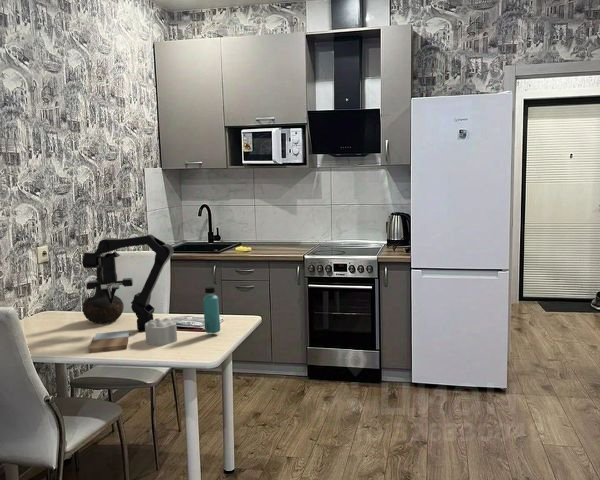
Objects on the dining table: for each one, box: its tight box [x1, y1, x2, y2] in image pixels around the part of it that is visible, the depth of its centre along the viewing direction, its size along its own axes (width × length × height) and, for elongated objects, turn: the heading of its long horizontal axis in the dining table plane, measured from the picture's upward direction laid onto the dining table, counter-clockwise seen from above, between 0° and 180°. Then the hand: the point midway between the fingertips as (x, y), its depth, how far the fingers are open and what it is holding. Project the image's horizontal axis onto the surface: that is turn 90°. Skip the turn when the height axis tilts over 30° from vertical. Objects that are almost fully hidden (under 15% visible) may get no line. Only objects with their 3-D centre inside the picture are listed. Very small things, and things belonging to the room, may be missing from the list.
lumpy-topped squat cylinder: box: [144, 317, 178, 347], centre depth 233 cm, size 10×13×9 cm
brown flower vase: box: [82, 265, 125, 325], centre depth 267 cm, size 18×18×28 cm
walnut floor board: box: [88, 337, 129, 354], centre depth 228 cm, size 14×12×2 cm
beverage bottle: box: [202, 286, 221, 334], centre depth 238 cm, size 6×7×20 cm
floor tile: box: [93, 330, 130, 340], centre depth 239 cm, size 13×10×2 cm
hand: (111, 303), depth 251 cm, fingers closed
